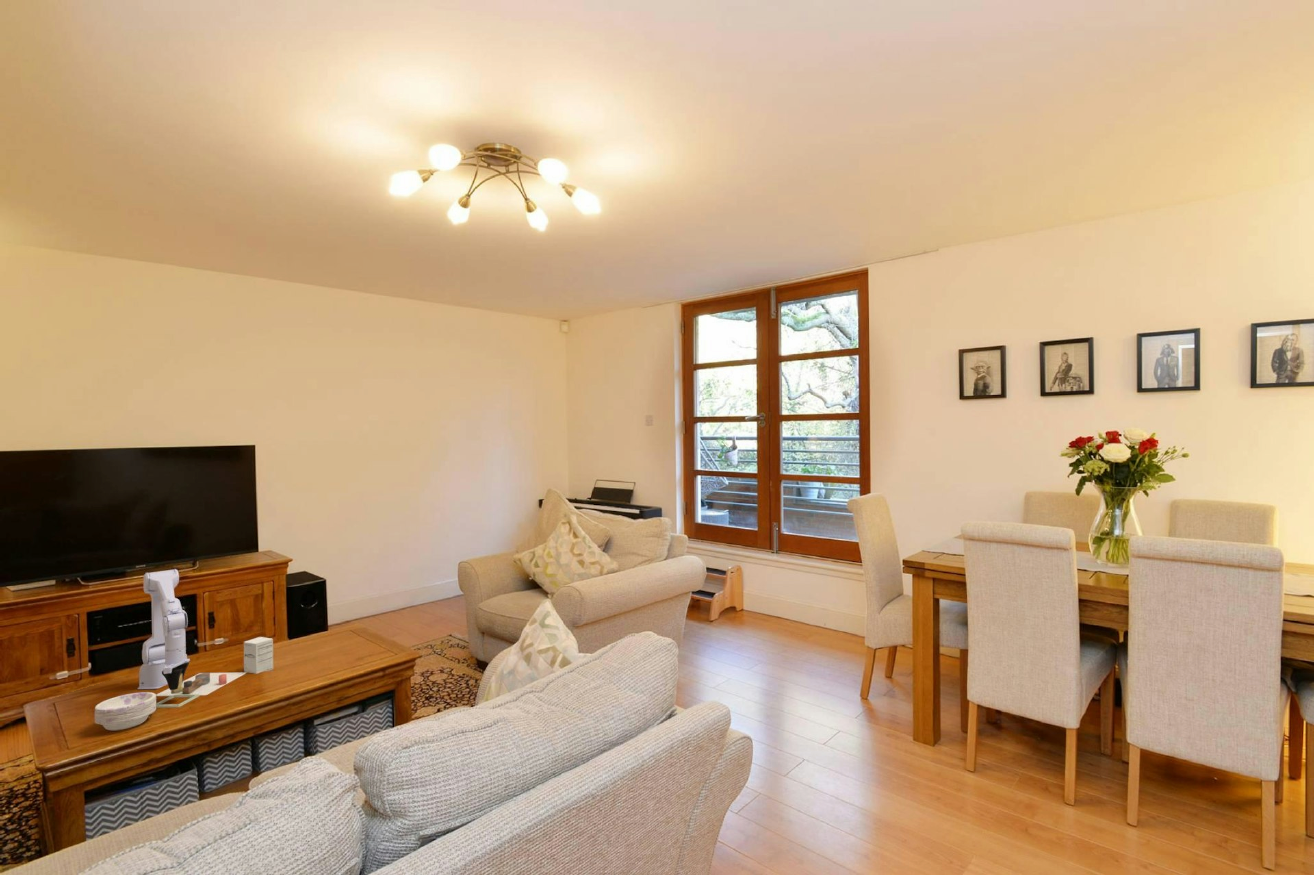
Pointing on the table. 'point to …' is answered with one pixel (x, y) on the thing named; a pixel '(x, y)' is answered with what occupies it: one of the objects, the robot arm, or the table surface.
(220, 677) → the post
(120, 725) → the paper bowls
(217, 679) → the board
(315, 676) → the table surface
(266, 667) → the supplement box
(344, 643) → the table surface
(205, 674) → the crank
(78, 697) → the table surface
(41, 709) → the table surface
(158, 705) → the tray
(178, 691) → the pin
